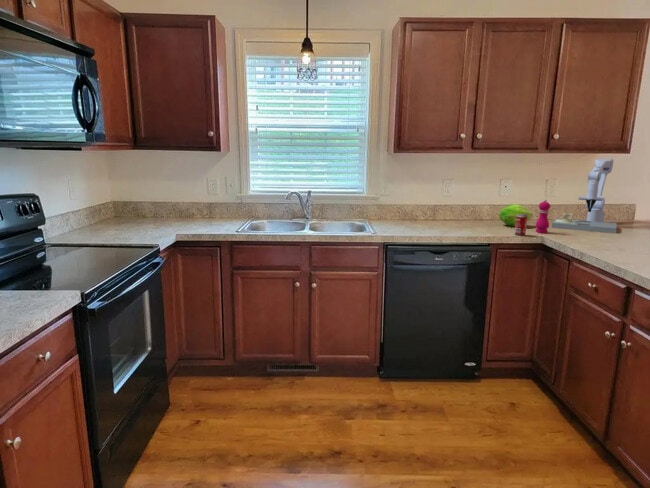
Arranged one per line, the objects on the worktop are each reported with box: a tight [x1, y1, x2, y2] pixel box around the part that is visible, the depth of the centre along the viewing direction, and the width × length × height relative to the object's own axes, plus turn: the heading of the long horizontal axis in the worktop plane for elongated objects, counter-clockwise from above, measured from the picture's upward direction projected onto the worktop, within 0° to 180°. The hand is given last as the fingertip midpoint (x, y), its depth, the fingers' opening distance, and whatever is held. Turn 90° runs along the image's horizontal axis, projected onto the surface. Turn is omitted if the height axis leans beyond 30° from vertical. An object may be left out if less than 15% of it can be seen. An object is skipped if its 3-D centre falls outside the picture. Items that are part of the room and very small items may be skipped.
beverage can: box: [514, 214, 528, 237], centre depth 246 cm, size 6×6×12 cm
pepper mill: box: [535, 199, 551, 234], centre depth 253 cm, size 7×7×20 cm
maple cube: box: [562, 212, 574, 223], centre depth 274 cm, size 5×5×5 cm
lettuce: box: [498, 203, 534, 227], centre depth 275 cm, size 15×20×14 cm
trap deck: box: [551, 217, 618, 234], centre depth 271 cm, size 34×22×3 cm, turn 56°
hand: (589, 211), depth 274 cm, fingers closed
